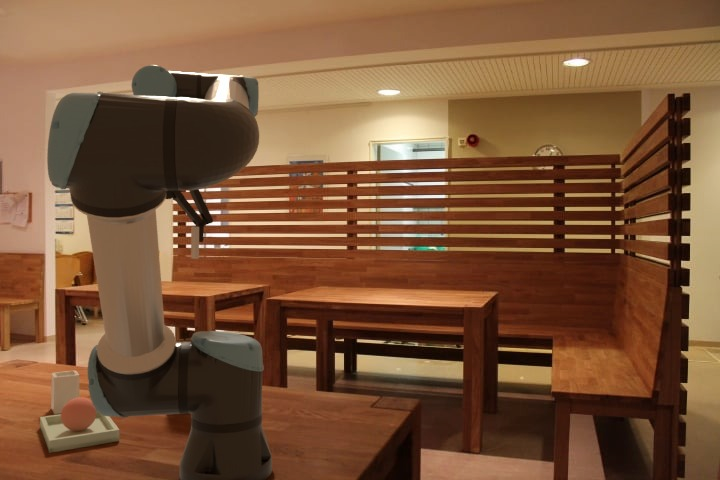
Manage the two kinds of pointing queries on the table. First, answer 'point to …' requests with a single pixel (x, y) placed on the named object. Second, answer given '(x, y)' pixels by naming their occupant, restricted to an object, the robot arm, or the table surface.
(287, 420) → the table surface
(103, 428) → the tray
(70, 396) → the hollow square tube
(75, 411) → the ball
